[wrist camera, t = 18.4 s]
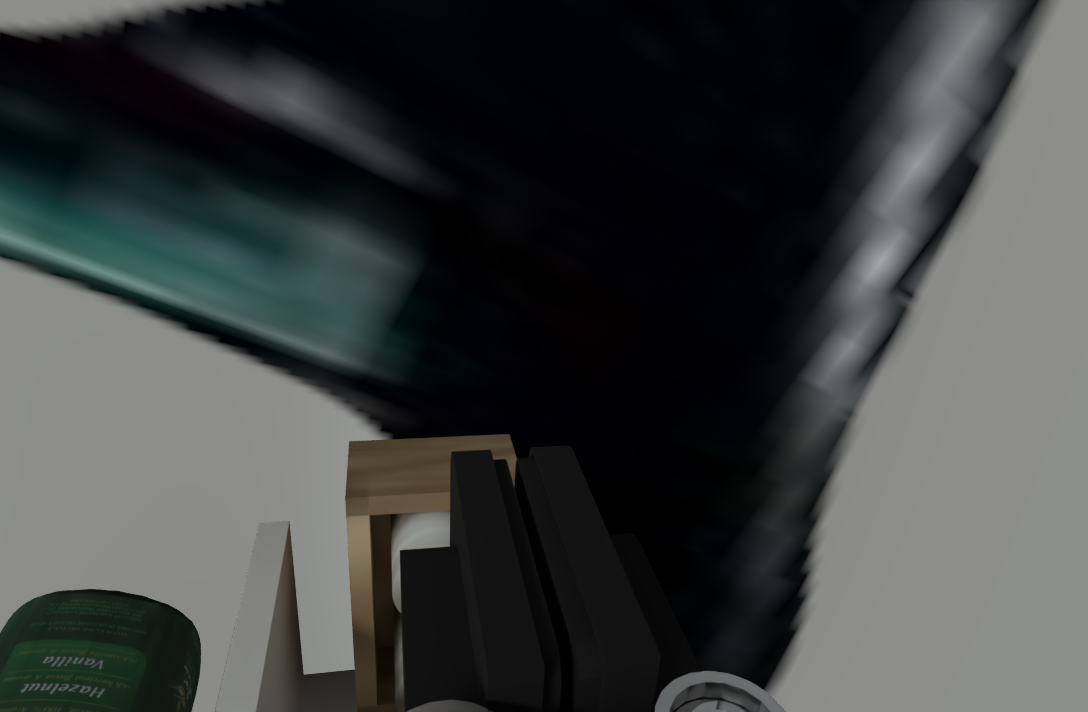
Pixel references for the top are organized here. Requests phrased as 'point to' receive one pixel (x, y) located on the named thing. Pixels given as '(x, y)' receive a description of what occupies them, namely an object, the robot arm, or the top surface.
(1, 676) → the coffee jar
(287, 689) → the tan rectangular box
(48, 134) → the top surface
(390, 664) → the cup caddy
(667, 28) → the top surface
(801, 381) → the top surface
